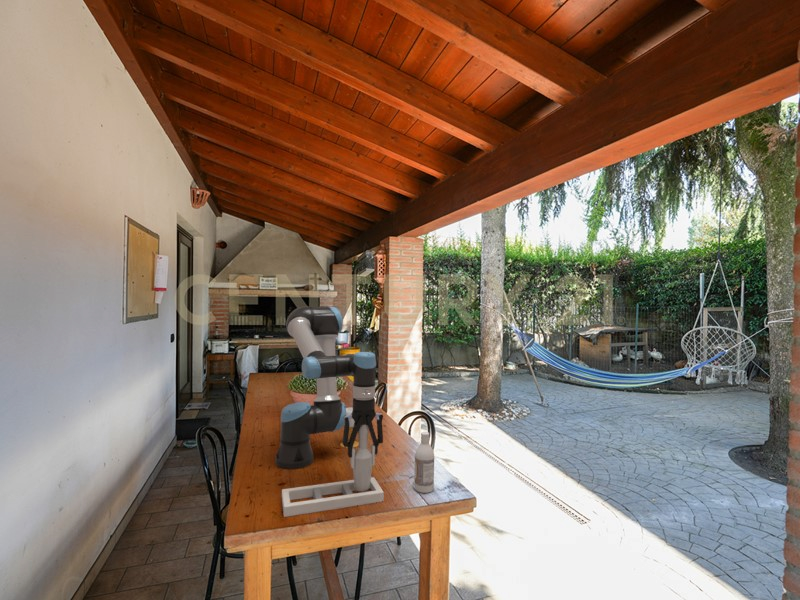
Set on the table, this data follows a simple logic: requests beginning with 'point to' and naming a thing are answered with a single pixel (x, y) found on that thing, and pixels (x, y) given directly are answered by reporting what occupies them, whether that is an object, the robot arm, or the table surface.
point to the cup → (350, 427)
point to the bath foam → (424, 466)
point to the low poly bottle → (362, 462)
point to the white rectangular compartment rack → (330, 502)
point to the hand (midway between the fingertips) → (362, 464)
